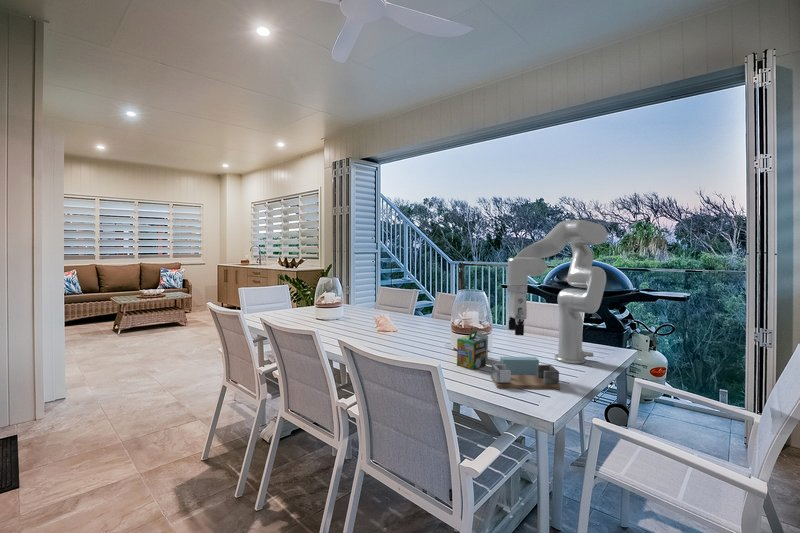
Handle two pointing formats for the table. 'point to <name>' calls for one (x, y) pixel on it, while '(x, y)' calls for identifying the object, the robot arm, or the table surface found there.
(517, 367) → the grey-blue block
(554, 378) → the board
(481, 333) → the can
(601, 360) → the table surface
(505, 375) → the end cap
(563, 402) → the table surface
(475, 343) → the chalk box
